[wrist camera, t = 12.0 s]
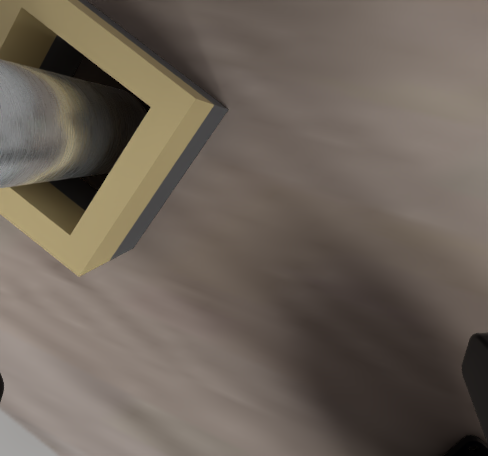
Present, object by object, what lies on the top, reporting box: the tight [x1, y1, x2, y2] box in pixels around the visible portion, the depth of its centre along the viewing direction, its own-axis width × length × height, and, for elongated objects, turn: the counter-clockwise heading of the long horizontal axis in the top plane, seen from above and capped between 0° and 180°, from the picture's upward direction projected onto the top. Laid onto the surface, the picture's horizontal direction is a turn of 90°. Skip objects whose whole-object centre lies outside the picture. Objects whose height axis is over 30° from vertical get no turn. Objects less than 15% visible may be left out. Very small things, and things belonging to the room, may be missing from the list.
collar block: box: [0, 0, 228, 277], centre depth 19 cm, size 8×8×5 cm
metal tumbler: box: [0, 59, 147, 188], centre depth 16 cm, size 4×4×12 cm
